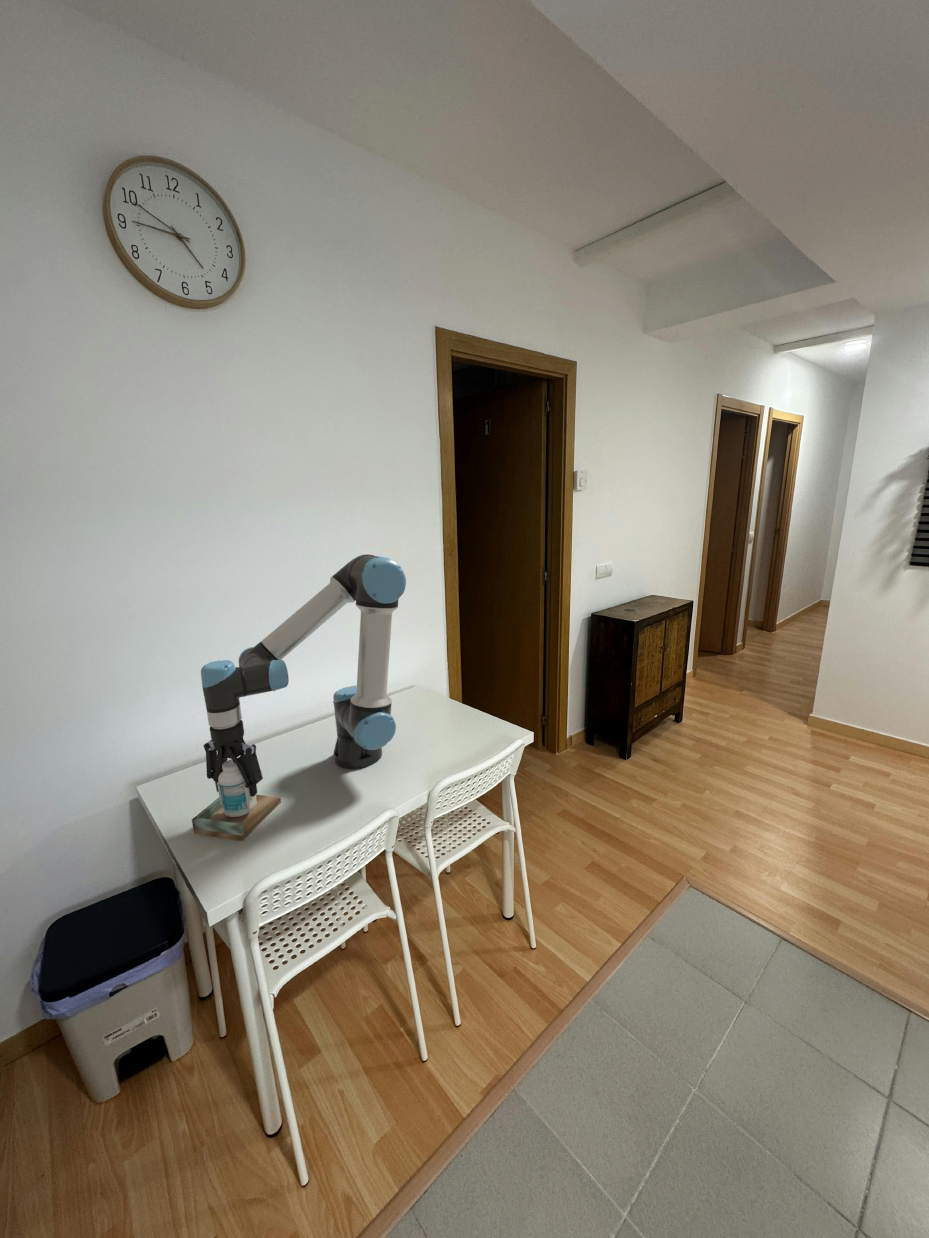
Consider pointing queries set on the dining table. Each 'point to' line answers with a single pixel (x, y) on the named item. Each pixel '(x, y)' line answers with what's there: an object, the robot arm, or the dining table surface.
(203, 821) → the rail board
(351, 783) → the dining table surface
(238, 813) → the pill bottle
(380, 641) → the robot arm
